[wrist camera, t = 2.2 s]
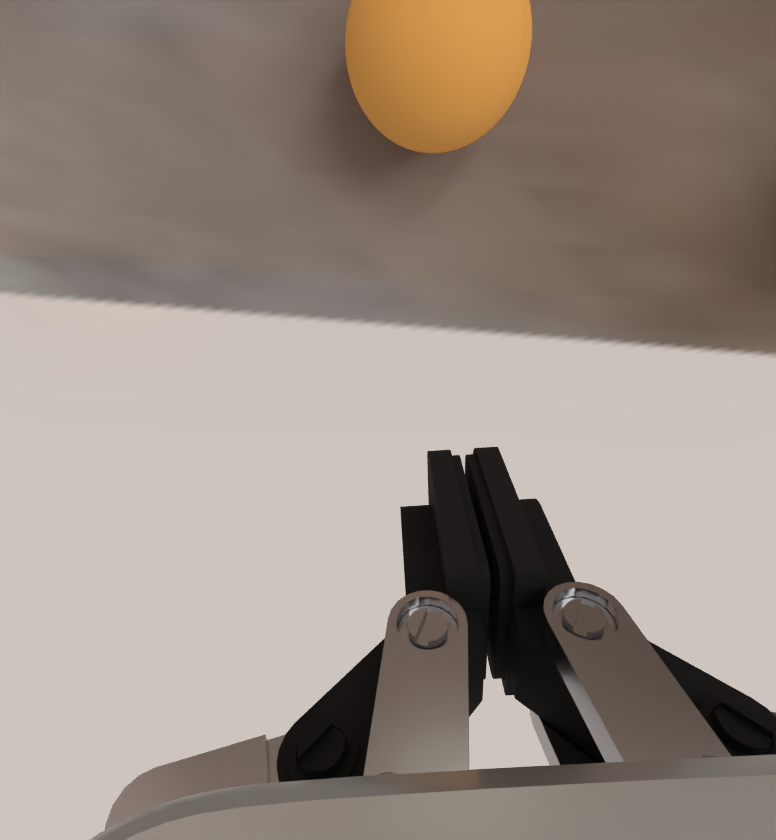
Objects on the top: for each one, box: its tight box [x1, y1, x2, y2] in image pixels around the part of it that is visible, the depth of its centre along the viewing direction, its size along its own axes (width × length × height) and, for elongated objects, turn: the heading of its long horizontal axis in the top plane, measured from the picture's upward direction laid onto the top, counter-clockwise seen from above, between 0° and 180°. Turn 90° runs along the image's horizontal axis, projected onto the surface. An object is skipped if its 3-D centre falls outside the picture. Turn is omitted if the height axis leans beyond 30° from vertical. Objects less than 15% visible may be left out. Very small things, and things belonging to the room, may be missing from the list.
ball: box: [345, 0, 532, 153], centre depth 15 cm, size 6×6×6 cm
